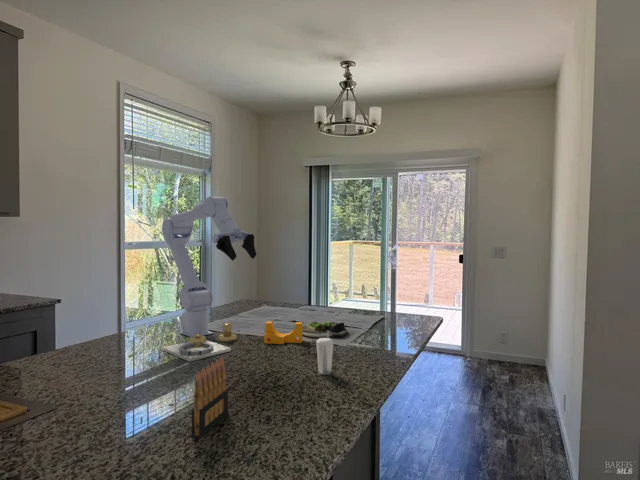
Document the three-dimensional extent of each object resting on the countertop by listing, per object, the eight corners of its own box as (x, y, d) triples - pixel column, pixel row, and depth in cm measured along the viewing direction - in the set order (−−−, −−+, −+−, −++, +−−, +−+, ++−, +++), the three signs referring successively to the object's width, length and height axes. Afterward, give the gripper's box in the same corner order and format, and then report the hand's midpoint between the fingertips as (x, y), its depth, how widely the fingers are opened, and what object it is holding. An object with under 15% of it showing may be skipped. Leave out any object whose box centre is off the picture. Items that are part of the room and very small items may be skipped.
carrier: (162, 350, 134) (162, 337, 133) (202, 341, 144) (202, 329, 144) (189, 361, 123) (189, 347, 122) (230, 351, 133) (230, 338, 133)
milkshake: (336, 370, 115) (336, 332, 115) (330, 376, 110) (330, 337, 110) (320, 368, 117) (320, 331, 117) (313, 374, 112) (313, 336, 112)
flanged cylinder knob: (214, 340, 146) (214, 324, 146) (229, 336, 150) (229, 321, 150) (224, 343, 142) (224, 326, 142) (240, 340, 146) (239, 323, 146)
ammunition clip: (220, 412, 89) (219, 354, 89) (228, 413, 89) (228, 355, 89) (191, 436, 79) (190, 371, 79) (200, 437, 79) (199, 372, 78)
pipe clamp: (264, 343, 142) (264, 324, 141) (267, 340, 146) (267, 321, 146) (300, 344, 141) (300, 325, 140) (302, 341, 145) (302, 322, 145)
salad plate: (295, 341, 145) (295, 327, 145) (290, 329, 163) (290, 316, 163) (351, 339, 148) (351, 325, 148) (340, 327, 166) (340, 315, 166)
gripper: (212, 217, 133) (230, 250, 127) (249, 216, 143) (268, 247, 138) (203, 232, 137) (220, 265, 131) (240, 231, 147) (258, 261, 141)
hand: (244, 257), depth 134 cm, fingers open, 7 cm apart
